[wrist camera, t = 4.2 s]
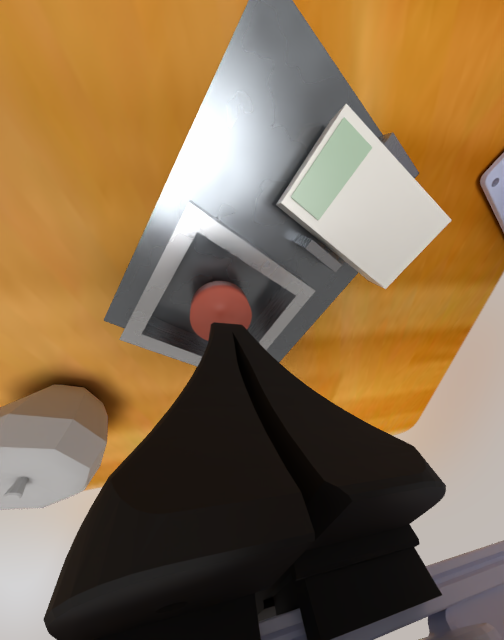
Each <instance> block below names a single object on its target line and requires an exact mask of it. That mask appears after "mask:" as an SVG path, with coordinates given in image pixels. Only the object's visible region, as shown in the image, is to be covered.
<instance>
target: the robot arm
mask: <svg viewBox="0 0 504 640" xmlns="http://www.w3.org/2000/svg"><path fill="white" fill-rule="evenodd" d="M480 185H481V187H482V189H483V191H484V193H485V195H486V197H487V199H488V201H489V203H490V205H491V208H492V210H493V212H494V214H495V216H496V218H497V220H498V222H499V224H500V226H501V228H502V230H503V232H504V152H503V153H502V155H501V156H500V157H499V158H498V159H497V160H496V161H495V162H494V163H493V164H492V165H491V166H490V167H489V168H488V169H487V170H486V172H485V173H484V174H483V175H482V177H481V179H480ZM445 491H446V485H445V484H444V483H443V482H442V480H441V479H440V478H439V477H438V476H437V474H436V473H435V472H434V471H433V469H432V468H431V467H430V466H429V464H428V463H427V462H426V461H425V459H424V458H423V457H422V456H421V454H420V453H419V452H418V451H417V450H416V448H415V447H414V446H412V445H410V444H408V443H406V442H404V441H402V440H400V439H398V438H396V437H394V436H392V435H390V434H388V433H386V432H384V431H382V430H380V429H378V428H376V427H374V426H372V425H370V424H368V423H366V422H364V421H363V420H361V419H359V418H357V417H355V416H354V415H352V414H350V413H348V412H347V411H345V410H343V409H342V408H340V407H338V406H337V405H335V404H333V403H332V402H330V401H329V400H327V399H326V398H324V397H323V396H321V395H320V394H318V393H317V392H315V391H314V390H312V389H311V388H310V387H308V386H307V385H305V384H304V383H303V382H302V381H300V380H299V379H298V378H296V377H295V376H294V375H293V374H291V373H290V372H289V371H288V370H287V369H285V368H284V367H283V366H282V365H281V364H280V363H279V362H278V361H277V360H276V359H274V358H273V357H272V356H271V355H270V354H269V353H268V352H267V351H266V350H265V349H264V348H263V347H262V346H261V345H260V343H259V342H258V341H257V340H256V339H255V338H254V337H253V336H252V335H251V334H250V333H249V332H248V330H247V329H246V328H245V327H244V326H243V325H240V324H228V323H216V322H214V323H212V324H211V327H210V333H209V340H208V344H207V347H206V350H205V352H204V354H203V356H202V358H201V361H200V363H199V365H198V367H197V368H196V370H195V372H194V374H193V375H192V377H191V379H190V380H189V382H188V383H187V385H186V386H185V388H184V389H183V391H182V392H181V394H180V395H179V397H178V398H177V399H176V401H175V402H174V403H173V405H172V406H171V407H170V409H169V410H168V411H167V412H166V414H165V415H164V416H163V417H162V418H161V420H160V421H159V422H158V423H157V425H156V426H155V427H154V428H153V429H152V431H151V432H150V433H149V434H148V435H147V436H146V438H145V439H144V440H143V441H142V442H141V443H140V444H139V445H138V446H137V447H136V448H135V450H134V451H133V452H132V453H131V454H130V455H129V456H128V457H127V458H126V459H125V460H124V461H123V462H122V463H121V464H120V466H119V467H118V468H117V469H116V470H115V471H114V472H113V473H112V474H111V475H110V476H109V478H108V479H107V481H106V483H105V484H104V486H103V487H102V489H101V491H100V493H99V494H98V496H97V498H96V499H95V501H94V503H93V505H92V506H91V508H90V510H89V512H88V514H87V516H86V518H85V519H84V521H83V523H82V525H81V527H80V529H79V531H78V533H77V535H76V537H75V539H74V542H73V544H72V546H71V548H70V550H69V553H68V555H67V557H66V559H65V562H64V564H63V567H62V570H61V573H60V575H59V578H58V581H57V584H56V586H55V589H54V592H53V595H52V598H51V600H50V603H49V606H48V609H47V611H46V614H45V617H44V622H45V625H46V628H47V630H48V632H49V634H50V635H52V636H53V637H54V638H55V639H57V640H374V639H376V638H378V637H380V636H383V635H385V634H388V633H390V632H392V631H394V630H397V629H399V628H402V627H404V626H406V625H409V624H411V623H414V622H416V621H418V620H421V619H423V618H425V617H428V625H429V630H430V634H429V636H428V637H426V638H422V639H419V640H504V541H501V542H498V543H495V544H492V545H489V546H486V547H483V548H480V549H477V550H474V551H471V552H468V553H464V554H462V555H459V556H456V557H452V558H449V559H446V560H444V561H440V562H437V563H434V564H432V565H428V566H425V565H424V563H423V561H422V560H421V558H420V556H419V555H418V553H417V551H416V550H415V548H414V547H415V546H417V545H419V539H418V537H417V536H416V534H415V533H414V531H413V529H412V528H411V526H410V525H409V524H410V523H411V522H413V521H414V520H415V519H417V518H418V517H419V516H421V515H422V514H423V513H425V512H426V511H428V510H429V509H430V508H432V507H433V506H434V505H435V504H437V503H438V502H439V501H440V500H441V499H442V498H443V496H444V494H445Z"/></svg>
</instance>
